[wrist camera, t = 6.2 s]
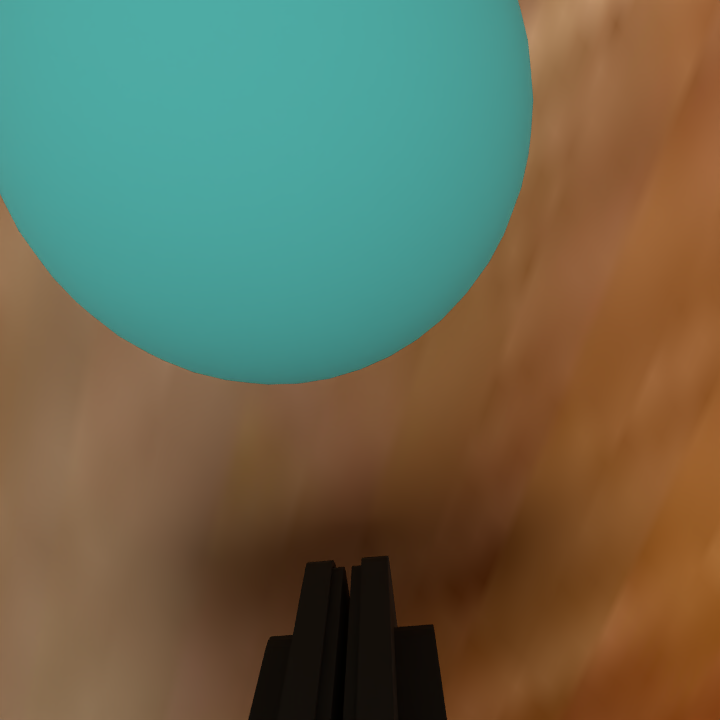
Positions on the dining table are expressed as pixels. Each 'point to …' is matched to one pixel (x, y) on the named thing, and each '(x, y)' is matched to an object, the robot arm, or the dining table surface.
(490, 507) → the dining table surface
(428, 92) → the ball
